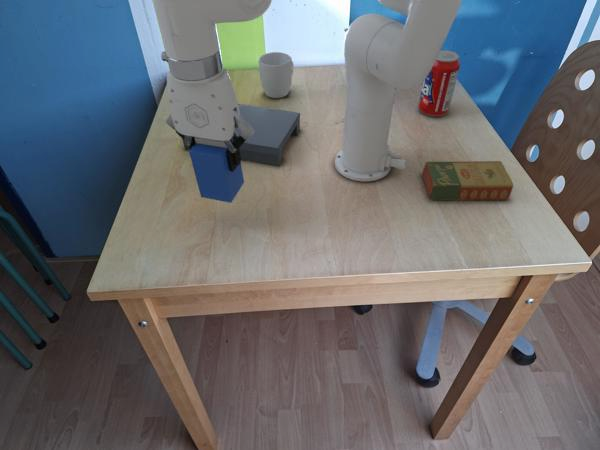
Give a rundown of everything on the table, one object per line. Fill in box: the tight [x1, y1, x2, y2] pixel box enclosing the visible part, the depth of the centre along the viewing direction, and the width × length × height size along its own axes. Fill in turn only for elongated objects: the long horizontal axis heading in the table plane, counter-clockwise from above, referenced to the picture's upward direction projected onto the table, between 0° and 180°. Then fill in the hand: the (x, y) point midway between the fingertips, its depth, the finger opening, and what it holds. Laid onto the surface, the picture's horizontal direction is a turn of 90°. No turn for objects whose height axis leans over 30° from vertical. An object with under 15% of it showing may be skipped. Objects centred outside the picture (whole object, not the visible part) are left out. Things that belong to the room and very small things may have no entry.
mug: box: [258, 51, 295, 99], centre depth 119 cm, size 13×9×10 cm
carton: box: [421, 160, 514, 201], centre depth 88 cm, size 8×16×4 cm, turn 89°
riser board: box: [181, 103, 301, 167], centre depth 102 cm, size 24×16×5 cm, turn 72°
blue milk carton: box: [188, 137, 245, 204], centre depth 74 cm, size 6×6×11 cm
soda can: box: [418, 49, 461, 118], centre depth 107 cm, size 8×8×15 cm
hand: (217, 163), depth 74 cm, fingers closed on blue milk carton, 6 cm apart
